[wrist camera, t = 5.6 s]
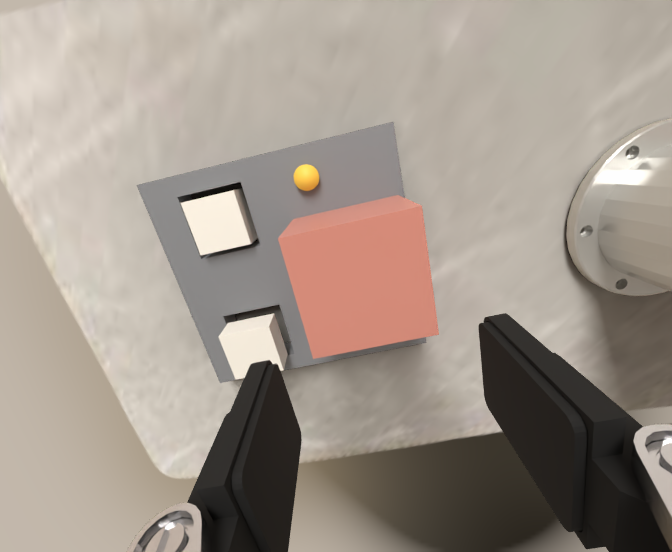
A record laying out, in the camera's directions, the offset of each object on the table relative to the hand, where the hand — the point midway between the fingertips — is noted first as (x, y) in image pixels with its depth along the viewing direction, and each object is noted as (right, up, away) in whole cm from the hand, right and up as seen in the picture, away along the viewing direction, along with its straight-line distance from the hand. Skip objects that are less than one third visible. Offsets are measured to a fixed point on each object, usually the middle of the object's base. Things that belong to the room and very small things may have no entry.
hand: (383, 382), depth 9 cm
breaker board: (-4, +4, +15) cm, 16 cm away
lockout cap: (0, +4, +13) cm, 14 cm away
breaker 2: (-7, -2, +14) cm, 16 cm away
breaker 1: (-9, +7, +13) cm, 18 cm away
